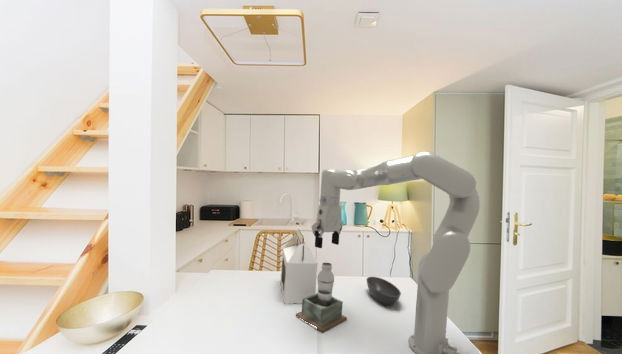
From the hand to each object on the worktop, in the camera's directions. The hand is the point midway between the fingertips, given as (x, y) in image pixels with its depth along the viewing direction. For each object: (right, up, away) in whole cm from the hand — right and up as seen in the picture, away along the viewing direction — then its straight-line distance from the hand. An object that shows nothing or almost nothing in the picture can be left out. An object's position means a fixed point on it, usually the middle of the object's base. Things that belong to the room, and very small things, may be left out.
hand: (327, 245), depth 103 cm
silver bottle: (-1, -27, +1) cm, 28 cm away
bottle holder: (-2, -28, 0) cm, 28 cm away
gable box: (-13, -28, +21) cm, 37 cm away
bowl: (+27, -31, +21) cm, 46 cm away
